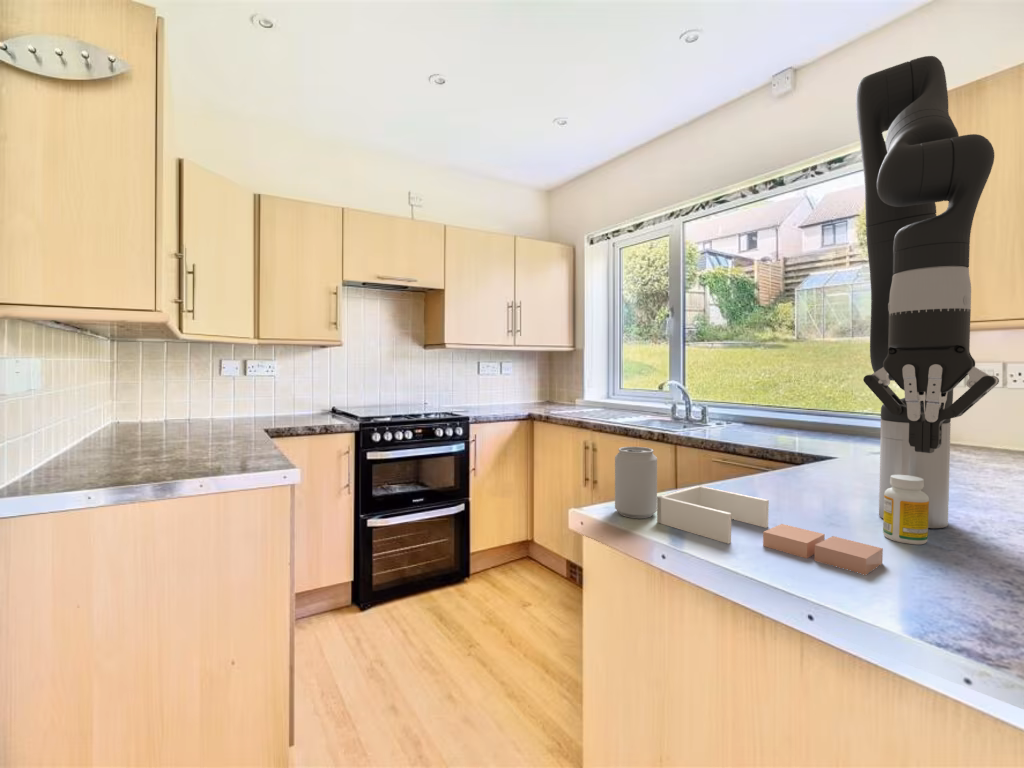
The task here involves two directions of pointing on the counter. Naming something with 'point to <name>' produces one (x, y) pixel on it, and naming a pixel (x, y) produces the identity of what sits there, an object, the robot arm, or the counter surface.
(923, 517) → the supplement bottle
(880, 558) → the tile
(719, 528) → the white u-shaped bracket
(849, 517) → the counter surface
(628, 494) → the can
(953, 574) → the counter surface
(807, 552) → the tile
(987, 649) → the counter surface
